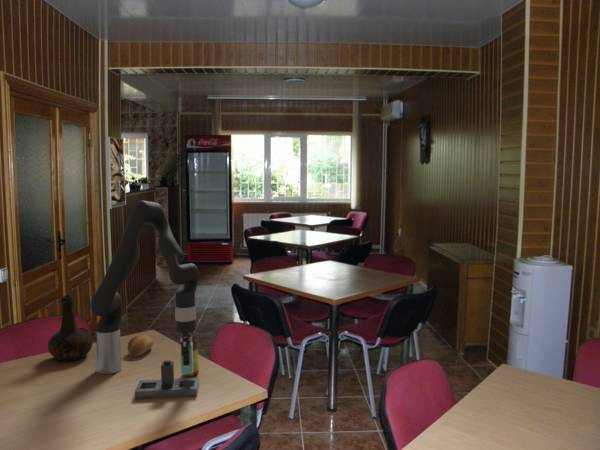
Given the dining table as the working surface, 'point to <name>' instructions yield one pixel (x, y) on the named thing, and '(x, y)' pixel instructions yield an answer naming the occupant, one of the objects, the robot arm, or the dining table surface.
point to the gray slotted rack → (167, 385)
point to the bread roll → (139, 345)
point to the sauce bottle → (194, 358)
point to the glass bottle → (69, 335)
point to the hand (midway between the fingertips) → (187, 362)
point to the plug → (189, 368)
